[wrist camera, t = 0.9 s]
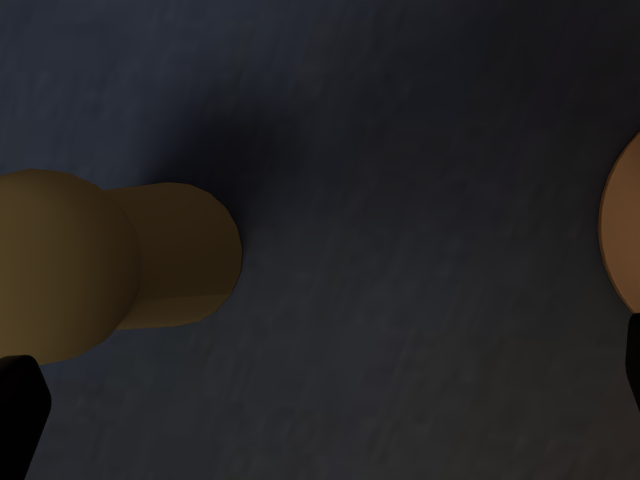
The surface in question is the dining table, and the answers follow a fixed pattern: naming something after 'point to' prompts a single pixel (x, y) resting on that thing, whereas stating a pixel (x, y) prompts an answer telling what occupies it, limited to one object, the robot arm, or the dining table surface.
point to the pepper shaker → (106, 260)
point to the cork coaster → (622, 225)
